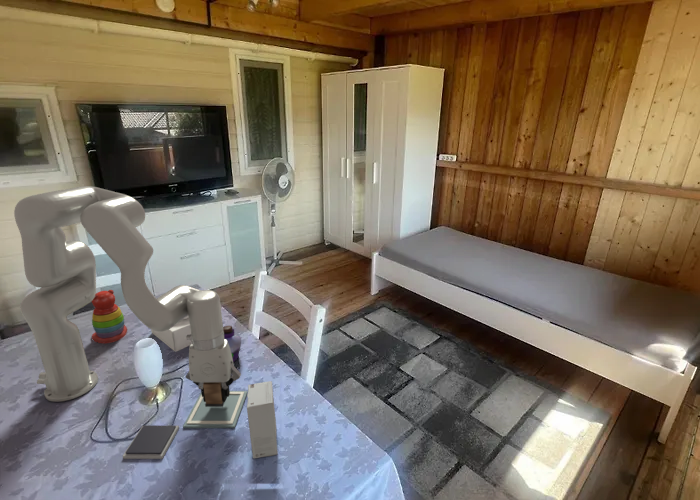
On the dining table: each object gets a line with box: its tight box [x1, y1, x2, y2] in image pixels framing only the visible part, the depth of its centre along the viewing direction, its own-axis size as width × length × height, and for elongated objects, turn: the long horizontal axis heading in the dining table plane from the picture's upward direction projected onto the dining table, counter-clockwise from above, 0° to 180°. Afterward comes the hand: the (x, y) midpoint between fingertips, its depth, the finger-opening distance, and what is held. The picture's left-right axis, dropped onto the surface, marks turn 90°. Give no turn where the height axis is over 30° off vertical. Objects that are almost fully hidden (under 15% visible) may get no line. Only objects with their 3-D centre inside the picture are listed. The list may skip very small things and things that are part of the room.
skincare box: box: [246, 380, 278, 459], centre depth 87 cm, size 8×6×15 cm
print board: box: [182, 390, 248, 429], centre depth 99 cm, size 13×13×1 cm
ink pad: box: [122, 424, 180, 460], centre depth 89 cm, size 9×9×1 cm
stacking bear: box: [91, 289, 128, 344], centre depth 129 cm, size 11×10×18 cm
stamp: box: [203, 382, 225, 407], centre depth 97 cm, size 4×4×7 cm
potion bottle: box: [223, 325, 242, 363], centre depth 118 cm, size 9×9×12 cm
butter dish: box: [150, 316, 192, 353], centre depth 132 cm, size 18×18×16 cm
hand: (216, 397), depth 98 cm, fingers closed on stamp, 4 cm apart
